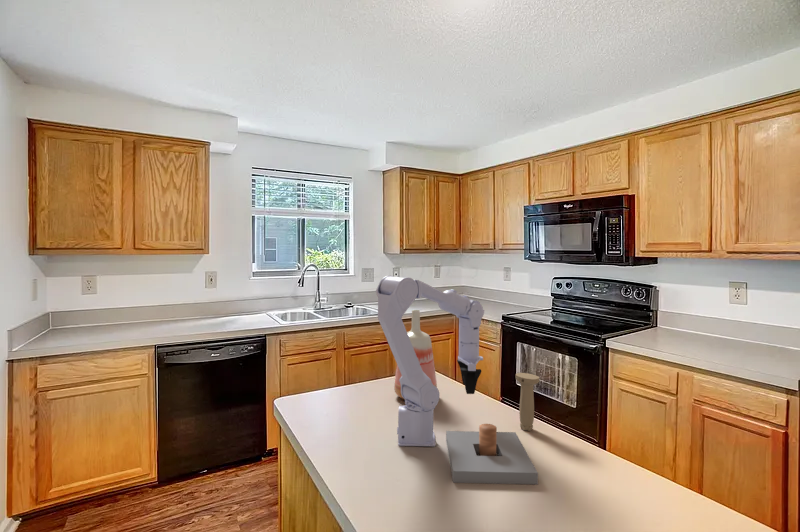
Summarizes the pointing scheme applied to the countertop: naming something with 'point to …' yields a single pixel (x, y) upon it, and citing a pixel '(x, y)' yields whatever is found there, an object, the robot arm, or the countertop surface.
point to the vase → (419, 352)
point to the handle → (527, 399)
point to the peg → (487, 440)
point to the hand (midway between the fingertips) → (468, 389)
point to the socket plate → (489, 460)
